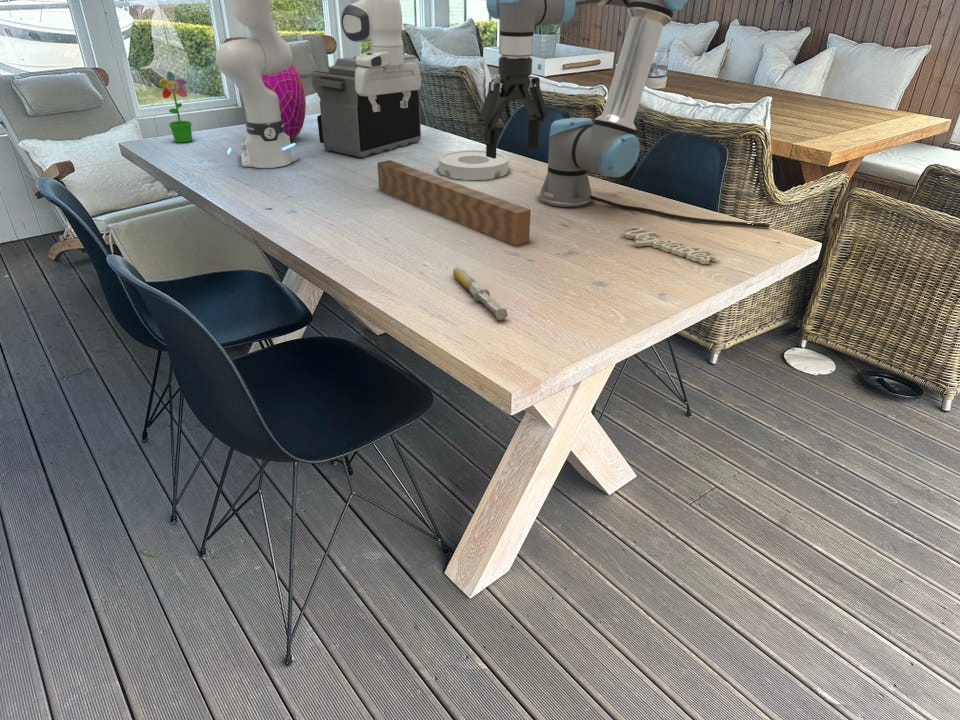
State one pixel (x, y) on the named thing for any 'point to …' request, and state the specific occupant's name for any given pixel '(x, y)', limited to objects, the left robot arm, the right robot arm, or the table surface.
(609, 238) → the table surface
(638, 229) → the decorative sign
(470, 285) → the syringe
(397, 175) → the post
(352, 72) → the cooler box
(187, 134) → the potted flower
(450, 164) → the ashtray
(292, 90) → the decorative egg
